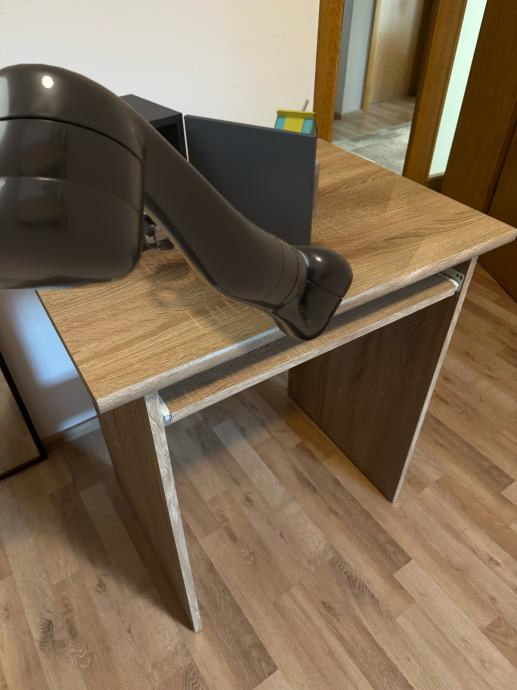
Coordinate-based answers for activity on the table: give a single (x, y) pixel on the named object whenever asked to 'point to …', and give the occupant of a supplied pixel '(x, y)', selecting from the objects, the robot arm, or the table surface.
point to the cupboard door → (259, 172)
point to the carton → (297, 120)
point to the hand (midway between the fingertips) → (153, 201)
